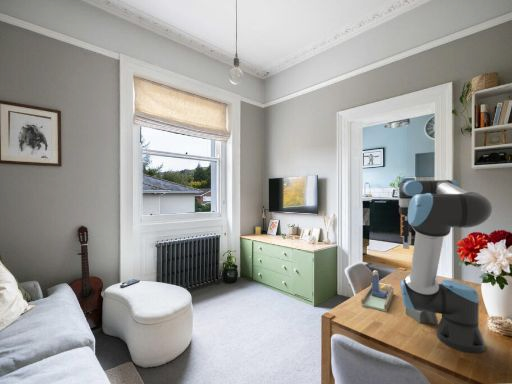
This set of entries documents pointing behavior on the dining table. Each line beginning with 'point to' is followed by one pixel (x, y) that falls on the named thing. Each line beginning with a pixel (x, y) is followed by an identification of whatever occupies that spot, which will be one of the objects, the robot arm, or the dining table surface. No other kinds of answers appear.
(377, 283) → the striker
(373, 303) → the pitch
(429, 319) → the digital clock
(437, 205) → the robot arm
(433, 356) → the dining table surface
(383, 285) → the ball
